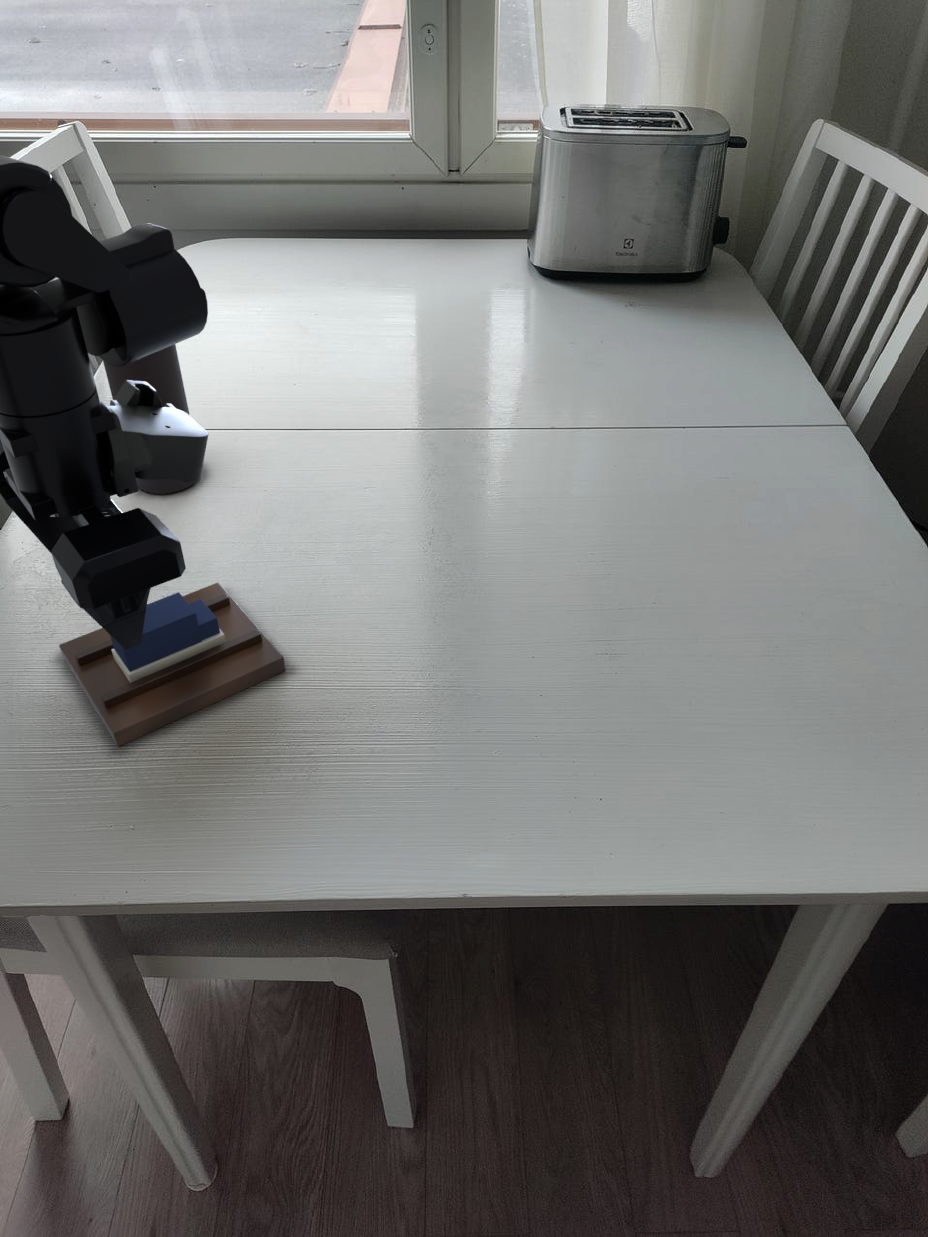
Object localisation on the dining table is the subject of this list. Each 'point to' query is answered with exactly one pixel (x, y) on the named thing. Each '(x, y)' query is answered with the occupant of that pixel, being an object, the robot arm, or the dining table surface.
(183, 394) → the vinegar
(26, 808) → the dining table surface
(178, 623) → the stepped navy block
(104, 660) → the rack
